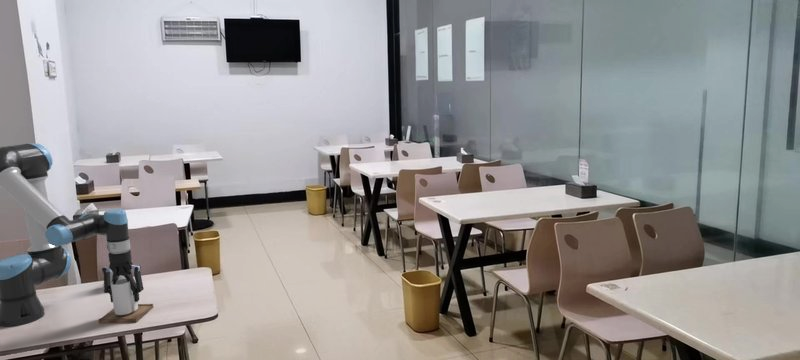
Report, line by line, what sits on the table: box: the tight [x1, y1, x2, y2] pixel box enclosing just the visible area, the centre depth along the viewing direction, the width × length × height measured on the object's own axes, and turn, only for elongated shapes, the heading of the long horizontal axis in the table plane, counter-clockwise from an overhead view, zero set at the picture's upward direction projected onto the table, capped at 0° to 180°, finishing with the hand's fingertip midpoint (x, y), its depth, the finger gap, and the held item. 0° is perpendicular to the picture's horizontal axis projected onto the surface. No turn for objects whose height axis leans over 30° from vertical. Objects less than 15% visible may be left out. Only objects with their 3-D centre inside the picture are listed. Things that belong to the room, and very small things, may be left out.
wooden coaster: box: [98, 303, 154, 324], centre depth 220 cm, size 14×14×2 cm
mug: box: [111, 279, 133, 315], centre depth 219 cm, size 10×7×12 cm, turn 165°
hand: (126, 309), depth 220 cm, fingers closed on mug, 6 cm apart
